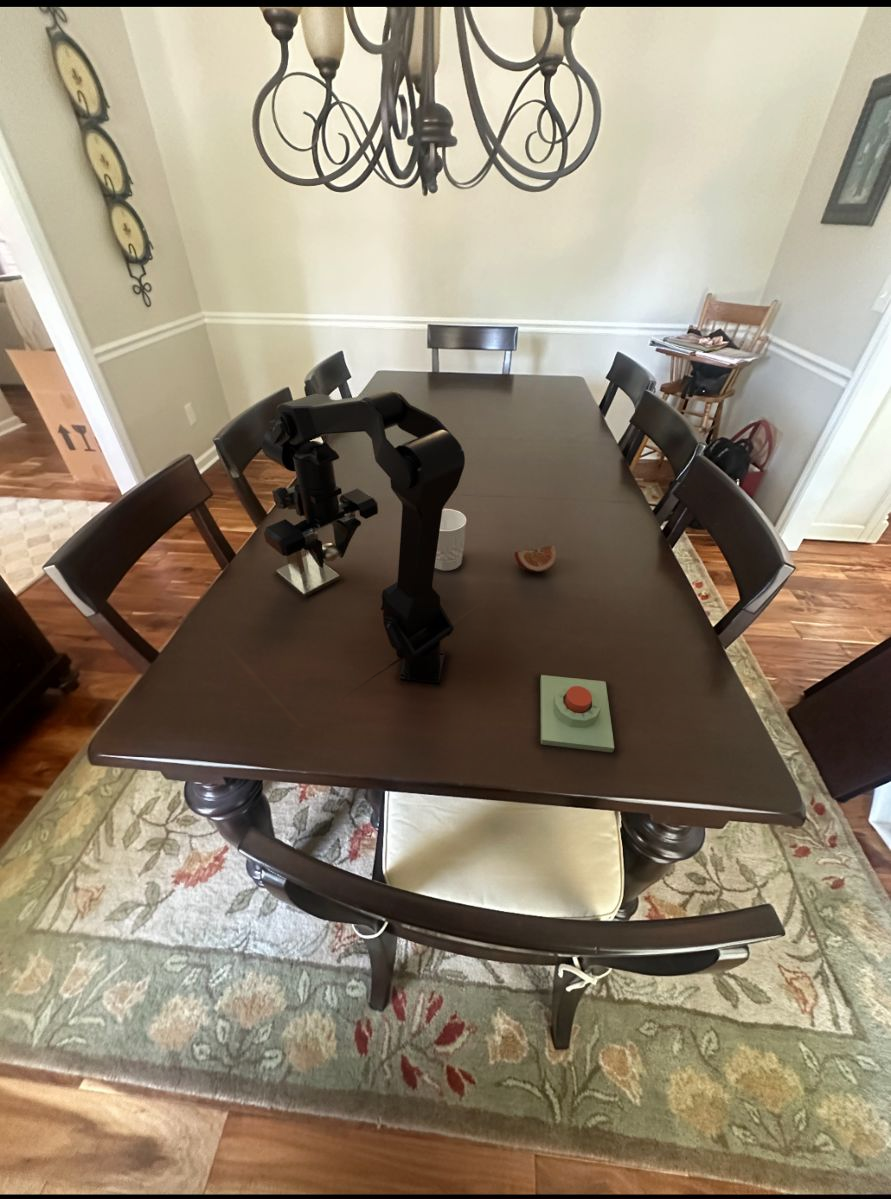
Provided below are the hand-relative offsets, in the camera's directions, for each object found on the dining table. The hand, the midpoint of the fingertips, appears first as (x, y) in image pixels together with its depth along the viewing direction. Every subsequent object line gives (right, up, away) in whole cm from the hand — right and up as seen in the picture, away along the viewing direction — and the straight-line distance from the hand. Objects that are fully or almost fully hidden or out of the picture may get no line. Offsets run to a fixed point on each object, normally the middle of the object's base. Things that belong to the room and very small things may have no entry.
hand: (330, 561), depth 90 cm
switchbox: (+39, -24, -13) cm, 48 cm away
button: (+39, -22, -15) cm, 47 cm away
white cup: (+20, +1, +16) cm, 25 cm away
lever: (-3, +1, +3) cm, 4 cm away
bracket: (-7, -2, +11) cm, 13 cm away
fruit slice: (+38, -1, +14) cm, 40 cm away
